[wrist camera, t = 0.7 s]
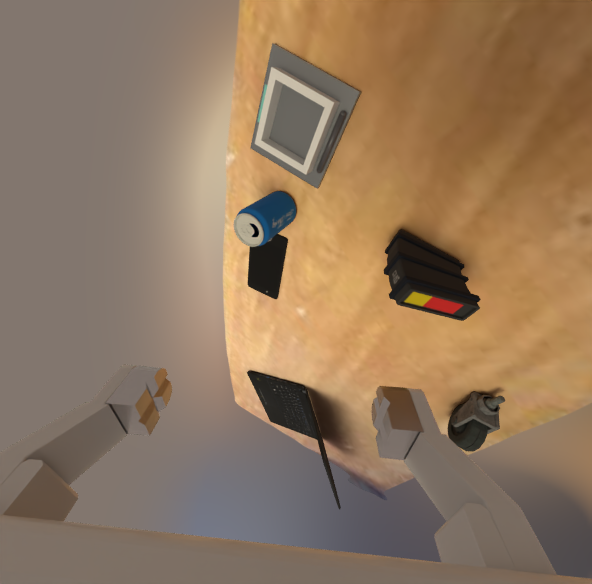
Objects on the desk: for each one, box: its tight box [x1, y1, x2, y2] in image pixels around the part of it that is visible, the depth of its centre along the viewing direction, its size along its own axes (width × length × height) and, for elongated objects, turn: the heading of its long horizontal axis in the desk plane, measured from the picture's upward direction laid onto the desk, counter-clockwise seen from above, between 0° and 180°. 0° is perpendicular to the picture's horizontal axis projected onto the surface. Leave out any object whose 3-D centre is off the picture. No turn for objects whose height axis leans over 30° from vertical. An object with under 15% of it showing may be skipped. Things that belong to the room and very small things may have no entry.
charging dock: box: [251, 43, 361, 189], centre depth 38 cm, size 14×14×3 cm
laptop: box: [247, 371, 340, 509], centre depth 86 cm, size 33×38×19 cm
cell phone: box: [248, 234, 288, 299], centre depth 60 cm, size 9×18×1 cm, turn 169°
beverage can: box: [234, 191, 296, 247], centre depth 45 cm, size 6×6×12 cm
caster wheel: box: [448, 392, 505, 451], centre depth 52 cm, size 6×10×15 cm
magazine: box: [384, 230, 480, 321], centre depth 38 cm, size 4×13×15 cm, turn 70°
